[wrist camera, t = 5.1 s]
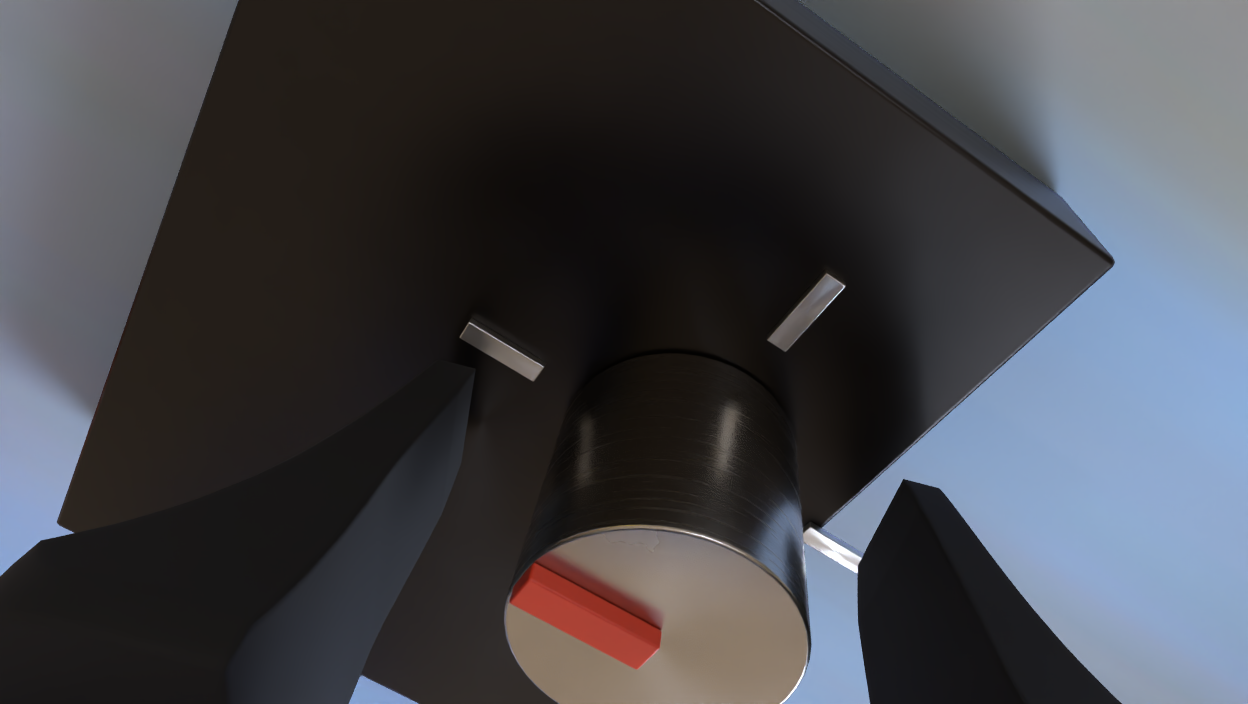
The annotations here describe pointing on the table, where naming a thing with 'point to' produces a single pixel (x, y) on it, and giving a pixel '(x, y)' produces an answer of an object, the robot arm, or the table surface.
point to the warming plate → (559, 263)
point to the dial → (666, 544)
